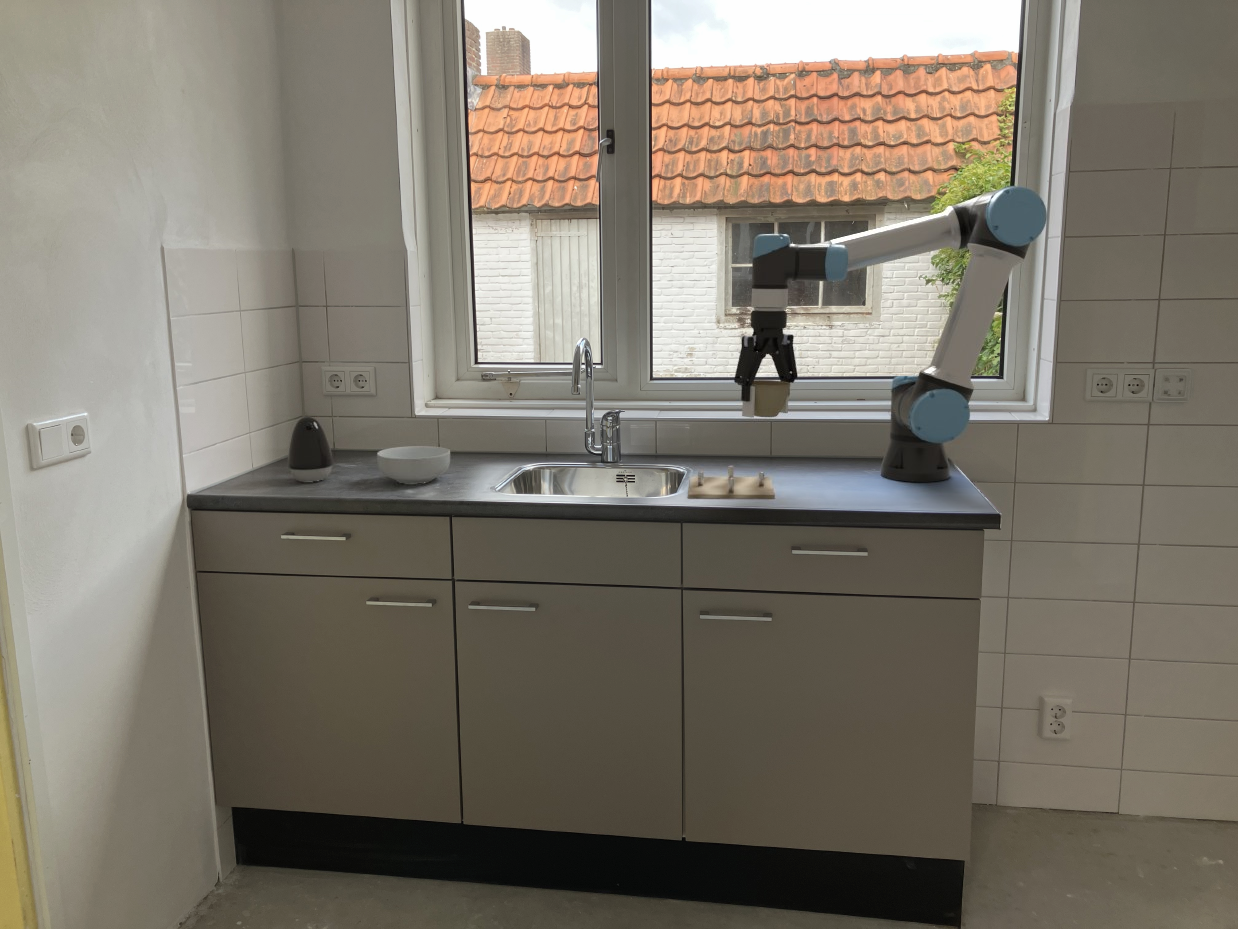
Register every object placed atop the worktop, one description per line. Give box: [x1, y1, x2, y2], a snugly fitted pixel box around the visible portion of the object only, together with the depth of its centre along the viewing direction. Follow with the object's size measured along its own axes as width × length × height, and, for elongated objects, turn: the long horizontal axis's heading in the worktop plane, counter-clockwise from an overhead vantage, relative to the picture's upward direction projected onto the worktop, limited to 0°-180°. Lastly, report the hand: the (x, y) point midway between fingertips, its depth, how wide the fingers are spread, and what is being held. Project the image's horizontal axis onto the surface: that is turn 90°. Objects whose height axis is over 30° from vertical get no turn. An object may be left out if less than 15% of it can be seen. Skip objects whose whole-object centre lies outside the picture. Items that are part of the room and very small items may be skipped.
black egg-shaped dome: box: [287, 416, 334, 482], centre depth 235 cm, size 10×10×15 cm
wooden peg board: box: [687, 465, 776, 500], centre depth 219 cm, size 18×18×4 cm
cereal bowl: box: [376, 445, 451, 484], centre depth 233 cm, size 17×17×7 cm
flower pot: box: [752, 379, 791, 418], centre depth 214 cm, size 10×10×7 cm
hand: (765, 414), depth 215 cm, fingers closed on flower pot, 10 cm apart
